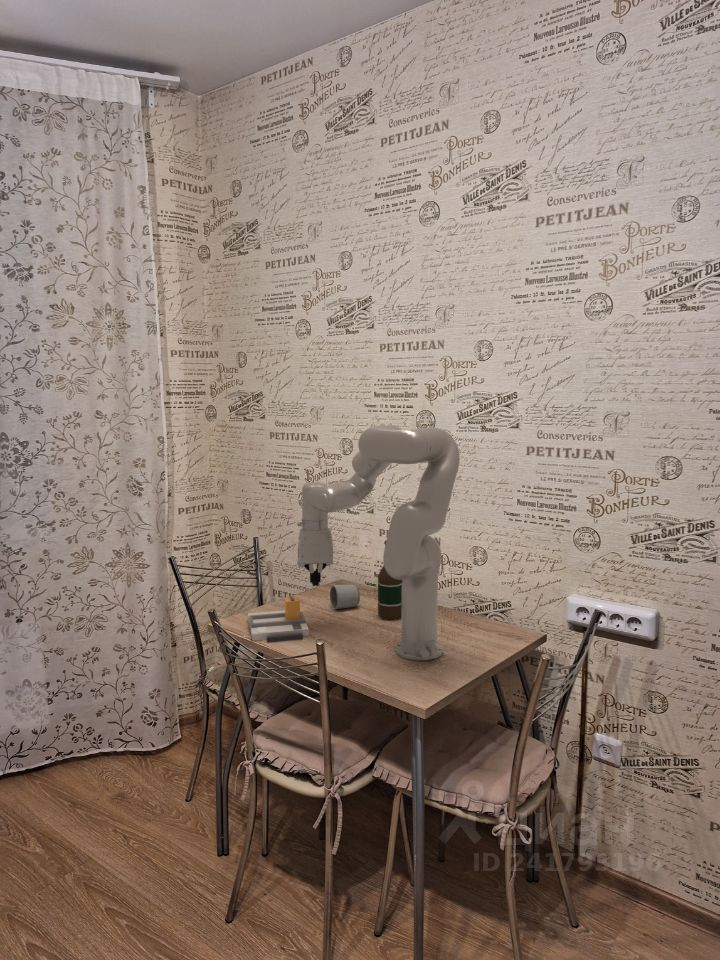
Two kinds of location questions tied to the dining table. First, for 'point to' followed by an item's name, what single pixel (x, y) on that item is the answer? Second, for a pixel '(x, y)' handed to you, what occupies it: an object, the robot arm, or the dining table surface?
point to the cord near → (284, 637)
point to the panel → (275, 625)
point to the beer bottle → (389, 596)
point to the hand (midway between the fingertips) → (315, 584)
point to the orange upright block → (292, 608)
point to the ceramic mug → (344, 596)
